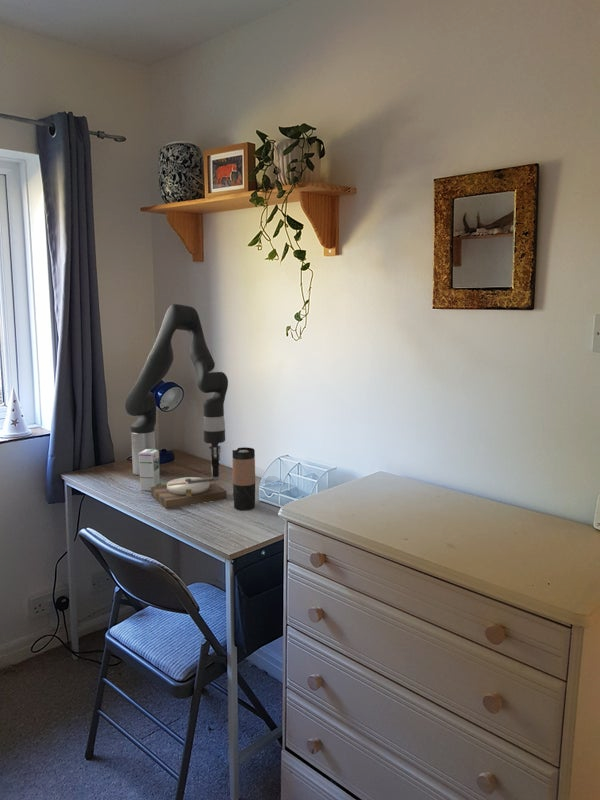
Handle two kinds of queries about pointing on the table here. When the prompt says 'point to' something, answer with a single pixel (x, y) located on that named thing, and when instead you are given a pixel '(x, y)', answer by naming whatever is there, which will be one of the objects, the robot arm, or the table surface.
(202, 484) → the dial
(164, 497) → the dial stand
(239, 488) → the travel mug
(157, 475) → the syrup box
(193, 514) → the table surface
